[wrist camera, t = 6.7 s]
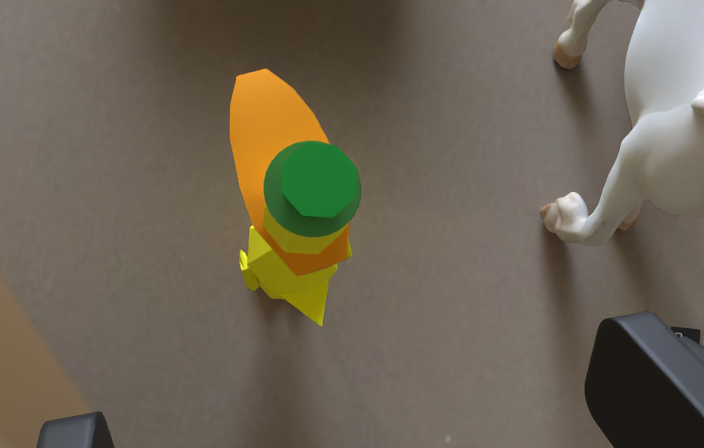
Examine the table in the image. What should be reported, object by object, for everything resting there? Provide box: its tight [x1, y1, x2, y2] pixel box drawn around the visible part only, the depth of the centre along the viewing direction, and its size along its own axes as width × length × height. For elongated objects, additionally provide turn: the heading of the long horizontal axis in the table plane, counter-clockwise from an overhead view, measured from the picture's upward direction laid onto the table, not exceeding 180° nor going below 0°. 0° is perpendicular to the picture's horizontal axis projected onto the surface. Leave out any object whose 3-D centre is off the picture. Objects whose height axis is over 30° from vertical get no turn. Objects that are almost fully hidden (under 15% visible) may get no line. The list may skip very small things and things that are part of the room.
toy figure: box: [230, 68, 361, 327], centre depth 19 cm, size 7×4×12 cm, turn 21°
